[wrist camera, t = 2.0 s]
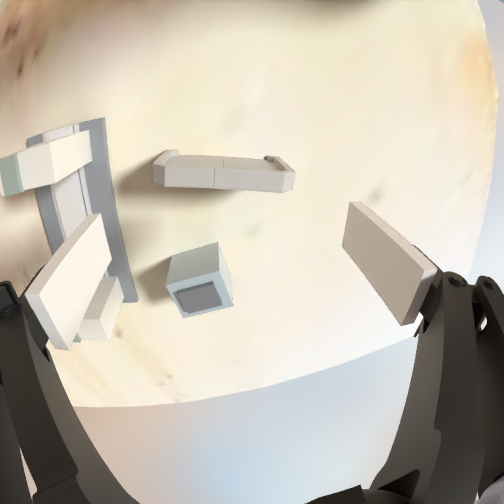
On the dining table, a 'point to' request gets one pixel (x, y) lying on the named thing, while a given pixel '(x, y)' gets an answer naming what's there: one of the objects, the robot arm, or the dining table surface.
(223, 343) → the dining table surface
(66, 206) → the rail board
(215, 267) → the relay block
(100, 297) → the mounted modules
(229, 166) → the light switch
